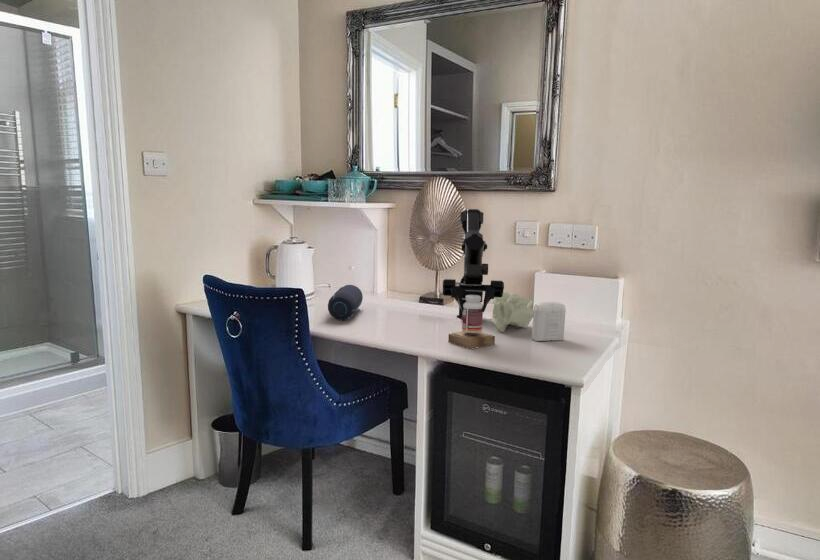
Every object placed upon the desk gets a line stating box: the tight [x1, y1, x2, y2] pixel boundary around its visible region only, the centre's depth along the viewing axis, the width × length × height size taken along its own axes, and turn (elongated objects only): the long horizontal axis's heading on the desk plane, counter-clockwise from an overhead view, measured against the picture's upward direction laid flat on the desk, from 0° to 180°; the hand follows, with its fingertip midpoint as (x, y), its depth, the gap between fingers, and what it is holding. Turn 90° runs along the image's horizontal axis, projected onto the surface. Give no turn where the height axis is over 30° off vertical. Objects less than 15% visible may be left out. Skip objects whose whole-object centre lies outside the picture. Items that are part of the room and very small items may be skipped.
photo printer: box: [531, 300, 566, 342], centre depth 178 cm, size 10×4×12 cm, turn 103°
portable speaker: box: [327, 284, 363, 321], centre depth 208 cm, size 25×10×10 cm, turn 176°
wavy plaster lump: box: [491, 291, 534, 333], centre depth 192 cm, size 18×13×16 cm
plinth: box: [447, 330, 496, 349], centre depth 173 cm, size 10×10×3 cm
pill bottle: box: [461, 295, 484, 333], centre depth 172 cm, size 6×6×11 cm
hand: (472, 311), depth 170 cm, fingers closed on pill bottle, 6 cm apart
